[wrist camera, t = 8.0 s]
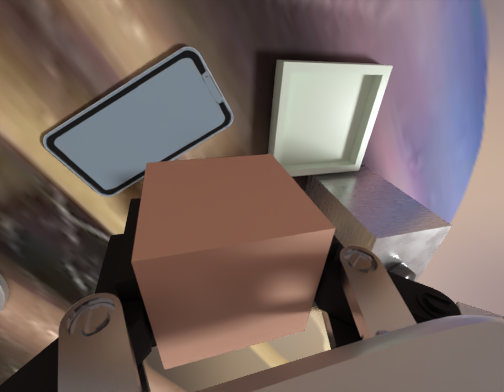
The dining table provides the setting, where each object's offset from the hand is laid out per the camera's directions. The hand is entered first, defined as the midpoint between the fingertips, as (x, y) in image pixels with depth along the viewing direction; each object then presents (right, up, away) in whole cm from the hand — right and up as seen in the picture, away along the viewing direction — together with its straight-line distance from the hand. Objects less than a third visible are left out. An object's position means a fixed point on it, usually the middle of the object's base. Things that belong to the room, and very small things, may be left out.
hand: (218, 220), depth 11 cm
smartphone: (-8, +7, +12) cm, 16 cm away
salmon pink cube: (0, +1, +1) cm, 1 cm away
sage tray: (+9, +9, +16) cm, 20 cm away
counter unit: (+12, 0, +23) cm, 25 cm away
